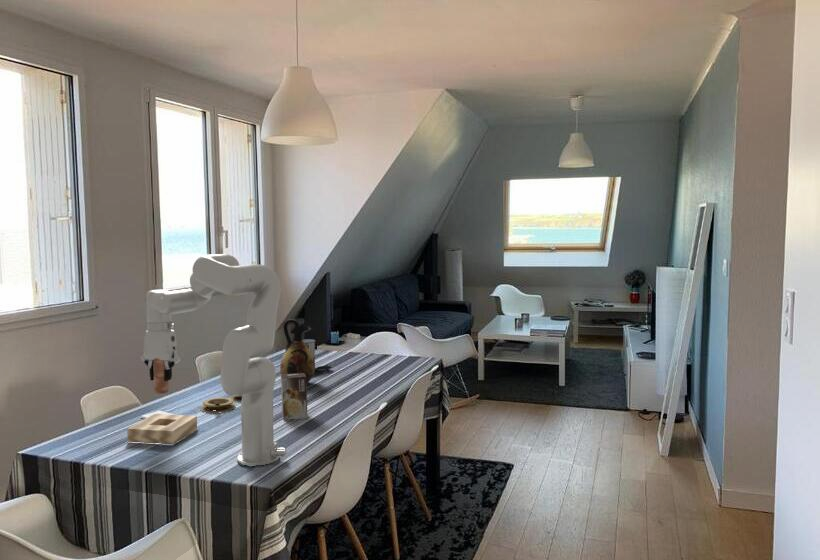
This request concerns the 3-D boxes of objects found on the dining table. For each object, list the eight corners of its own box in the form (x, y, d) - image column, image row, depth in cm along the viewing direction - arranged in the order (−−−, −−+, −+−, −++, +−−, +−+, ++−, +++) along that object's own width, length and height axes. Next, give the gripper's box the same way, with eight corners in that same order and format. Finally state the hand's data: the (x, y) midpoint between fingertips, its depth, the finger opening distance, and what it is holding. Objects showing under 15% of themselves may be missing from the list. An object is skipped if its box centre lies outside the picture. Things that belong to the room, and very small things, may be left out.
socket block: (197, 429, 213) (196, 415, 213) (172, 446, 198) (172, 431, 197) (155, 427, 216) (154, 413, 215) (127, 443, 200) (127, 428, 200)
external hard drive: (161, 425, 219) (141, 419, 226) (180, 419, 226) (160, 414, 233) (161, 421, 219) (140, 415, 226) (180, 415, 226) (160, 409, 233)
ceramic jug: (318, 381, 280) (318, 316, 277) (310, 390, 265) (309, 322, 262) (283, 380, 282) (281, 316, 279) (272, 389, 266) (270, 321, 264)
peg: (171, 390, 207) (170, 355, 206) (163, 394, 203) (162, 358, 202) (158, 389, 208) (157, 355, 207) (151, 393, 204) (150, 358, 202)
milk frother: (295, 368, 304) (294, 339, 302) (325, 366, 310) (325, 337, 308) (301, 375, 291) (301, 344, 289) (333, 372, 297) (333, 342, 295)
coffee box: (306, 413, 232) (305, 372, 230) (307, 418, 226) (307, 376, 224) (281, 415, 229) (280, 374, 228) (282, 420, 223) (281, 378, 222)
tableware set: (225, 418, 228) (224, 403, 228) (186, 411, 237) (186, 396, 236) (275, 398, 255) (275, 384, 254) (239, 392, 264) (239, 379, 263)
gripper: (188, 325, 206) (189, 378, 207) (142, 323, 208) (144, 375, 210) (176, 329, 198) (178, 384, 200) (129, 327, 201) (131, 381, 203)
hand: (160, 379), depth 205 cm, fingers closed on peg, 4 cm apart
